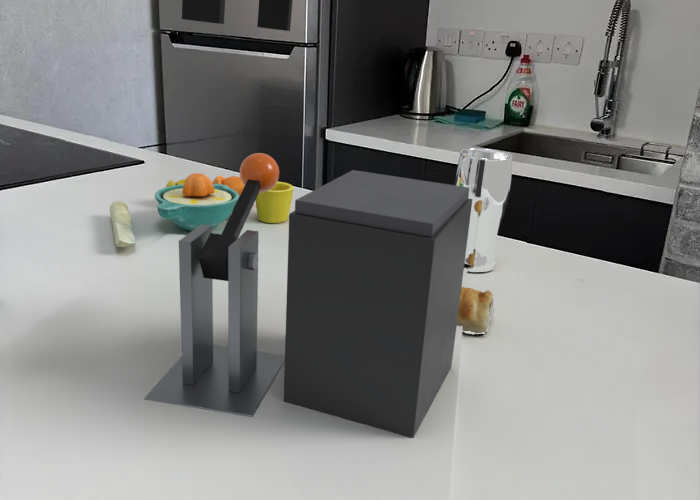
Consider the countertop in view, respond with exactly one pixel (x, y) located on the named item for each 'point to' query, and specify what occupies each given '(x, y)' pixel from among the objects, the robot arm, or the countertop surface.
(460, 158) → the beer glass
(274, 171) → the lever
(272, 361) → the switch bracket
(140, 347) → the countertop surface
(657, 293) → the countertop surface
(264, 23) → the robot arm
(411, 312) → the lidded storage box
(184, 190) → the toy juicer set
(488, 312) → the pastry
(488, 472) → the countertop surface
